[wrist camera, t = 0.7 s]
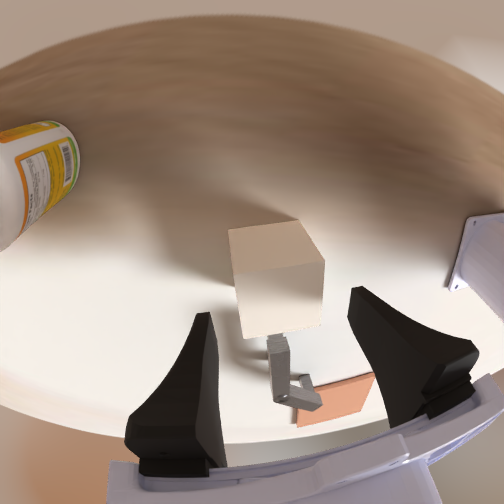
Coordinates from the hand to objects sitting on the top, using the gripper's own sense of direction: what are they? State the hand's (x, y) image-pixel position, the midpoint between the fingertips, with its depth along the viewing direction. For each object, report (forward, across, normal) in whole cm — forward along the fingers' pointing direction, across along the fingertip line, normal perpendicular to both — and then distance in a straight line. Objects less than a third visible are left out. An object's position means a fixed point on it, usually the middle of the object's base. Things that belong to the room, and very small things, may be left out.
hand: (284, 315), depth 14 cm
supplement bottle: (+6, +13, -9) cm, 17 cm away
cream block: (+6, 0, 0) cm, 6 cm away
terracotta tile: (+6, -7, +22) cm, 24 cm away
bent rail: (+6, -2, +11) cm, 12 cm away
